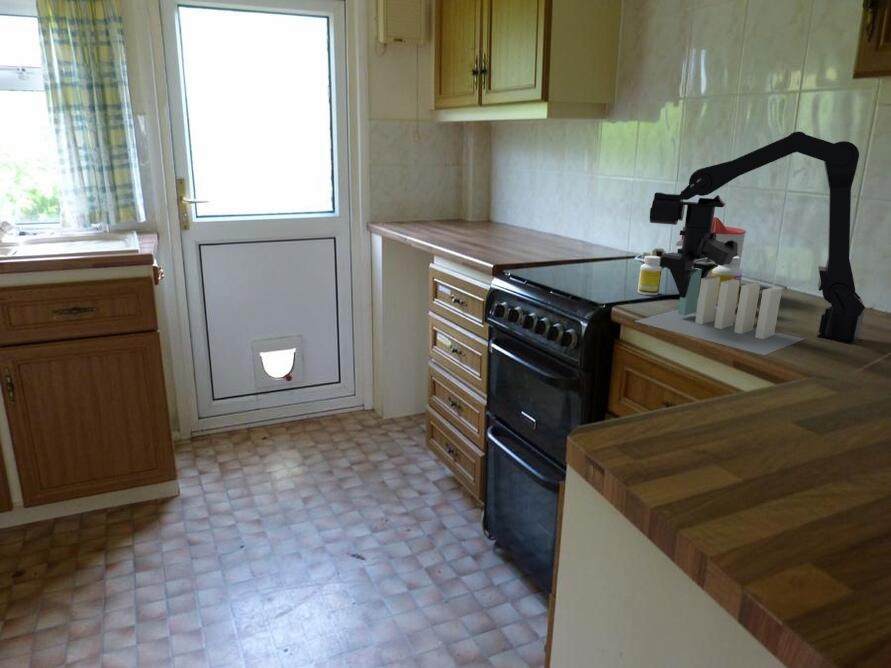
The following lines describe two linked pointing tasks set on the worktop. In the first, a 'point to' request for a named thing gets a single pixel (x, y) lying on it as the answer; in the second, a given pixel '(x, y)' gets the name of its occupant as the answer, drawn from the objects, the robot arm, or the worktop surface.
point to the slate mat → (719, 333)
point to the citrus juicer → (724, 237)
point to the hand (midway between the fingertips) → (689, 295)
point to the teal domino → (691, 295)
